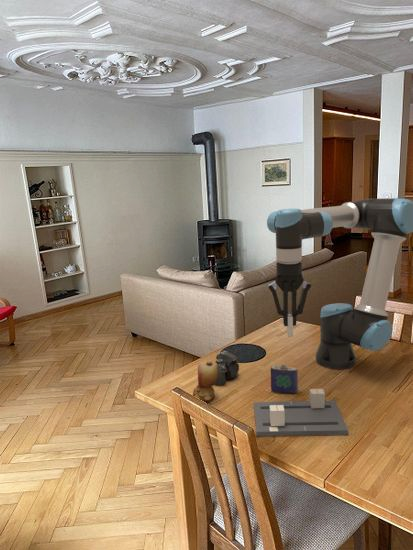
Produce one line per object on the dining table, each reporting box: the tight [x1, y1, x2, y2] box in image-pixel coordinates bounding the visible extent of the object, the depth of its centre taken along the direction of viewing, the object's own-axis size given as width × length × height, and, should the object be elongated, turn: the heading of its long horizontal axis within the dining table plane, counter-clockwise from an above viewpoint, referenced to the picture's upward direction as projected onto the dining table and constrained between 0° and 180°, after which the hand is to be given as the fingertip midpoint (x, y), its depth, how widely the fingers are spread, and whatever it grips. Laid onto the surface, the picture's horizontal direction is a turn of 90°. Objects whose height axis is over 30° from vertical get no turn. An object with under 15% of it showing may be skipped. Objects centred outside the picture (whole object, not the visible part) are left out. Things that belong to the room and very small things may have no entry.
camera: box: [214, 350, 240, 387], centre depth 154 cm, size 13×10×10 cm
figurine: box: [192, 359, 218, 403], centre depth 140 cm, size 10×8×15 cm
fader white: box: [270, 405, 285, 426], centre depth 121 cm, size 4×3×5 cm
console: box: [253, 400, 349, 437], centre depth 125 cm, size 26×16×2 cm, turn 87°
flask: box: [270, 362, 299, 395], centre depth 141 cm, size 9×3×11 cm, turn 74°
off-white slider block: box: [309, 388, 326, 408], centre depth 129 cm, size 4×3×5 cm
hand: (289, 335), depth 128 cm, fingers closed
